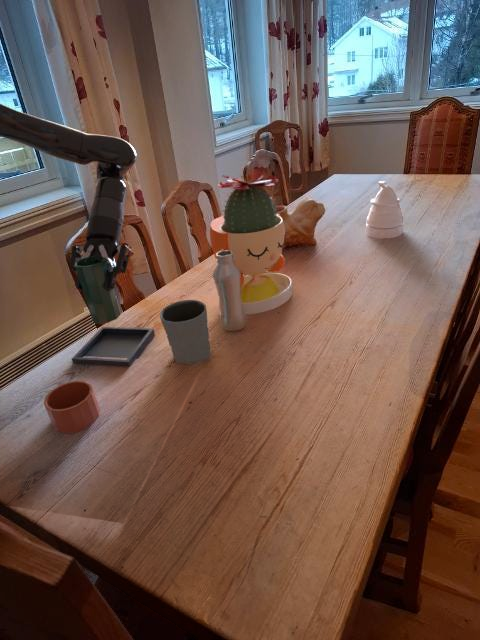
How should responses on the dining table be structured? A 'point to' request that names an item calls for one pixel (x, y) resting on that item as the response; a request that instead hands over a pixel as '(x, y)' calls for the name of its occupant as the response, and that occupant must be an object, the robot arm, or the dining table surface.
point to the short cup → (72, 406)
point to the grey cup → (187, 331)
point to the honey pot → (385, 214)
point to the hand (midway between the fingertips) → (94, 289)
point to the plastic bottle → (229, 292)
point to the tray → (115, 346)
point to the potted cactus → (253, 241)
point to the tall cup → (97, 290)
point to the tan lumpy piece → (301, 222)
